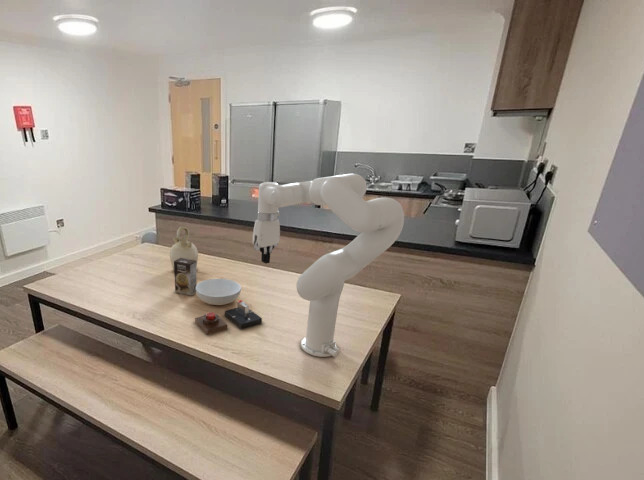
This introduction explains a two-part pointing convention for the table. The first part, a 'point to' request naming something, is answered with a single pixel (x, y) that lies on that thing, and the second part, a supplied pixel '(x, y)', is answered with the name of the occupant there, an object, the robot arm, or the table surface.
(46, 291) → the table surface
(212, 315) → the button
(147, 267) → the table surface
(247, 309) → the rotary selector knob
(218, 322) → the control block
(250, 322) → the tap console
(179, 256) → the jug
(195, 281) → the coffee box
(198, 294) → the serving bowl
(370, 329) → the table surface
